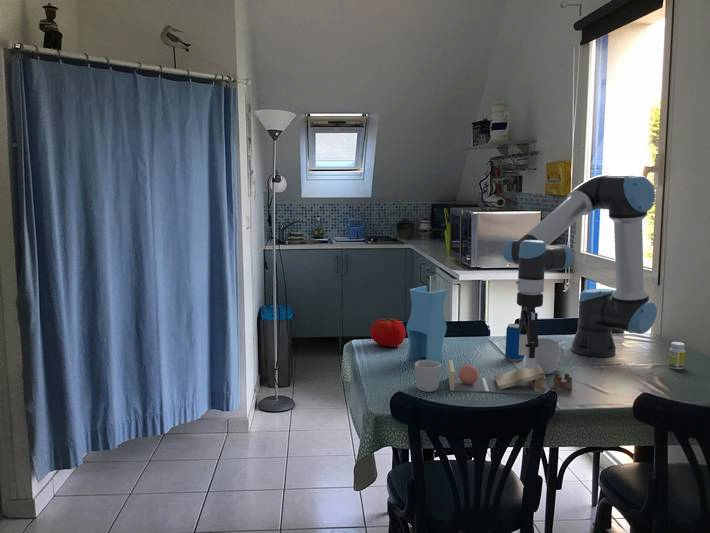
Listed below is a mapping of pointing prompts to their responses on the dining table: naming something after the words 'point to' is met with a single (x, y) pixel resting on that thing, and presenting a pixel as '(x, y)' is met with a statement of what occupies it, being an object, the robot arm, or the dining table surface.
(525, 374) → the ramp
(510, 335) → the beverage can
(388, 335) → the tomato
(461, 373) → the ball
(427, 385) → the cup
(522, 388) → the runway
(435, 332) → the vase
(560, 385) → the brown block with bumps
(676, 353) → the supplement bottle
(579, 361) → the dining table surface
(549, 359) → the mug
